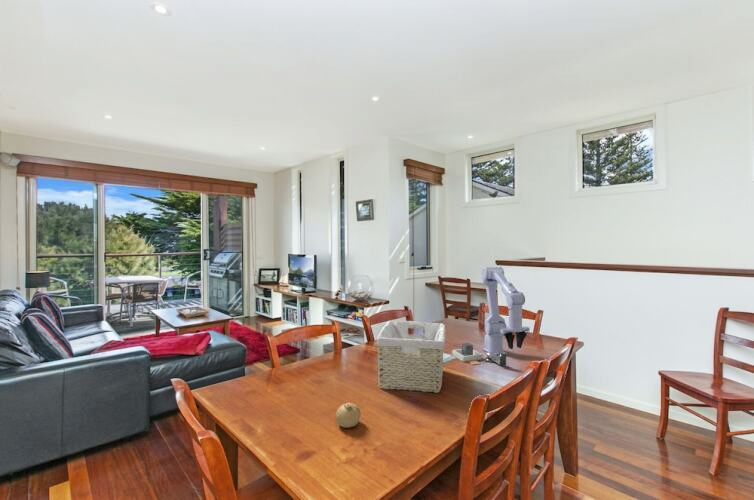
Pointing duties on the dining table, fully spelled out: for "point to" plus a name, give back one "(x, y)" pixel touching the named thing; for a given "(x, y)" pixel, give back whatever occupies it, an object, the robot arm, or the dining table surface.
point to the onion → (348, 415)
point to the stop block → (467, 349)
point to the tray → (473, 357)
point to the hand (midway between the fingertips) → (514, 347)
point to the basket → (411, 356)
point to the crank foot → (489, 360)
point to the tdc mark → (474, 362)
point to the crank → (497, 358)
